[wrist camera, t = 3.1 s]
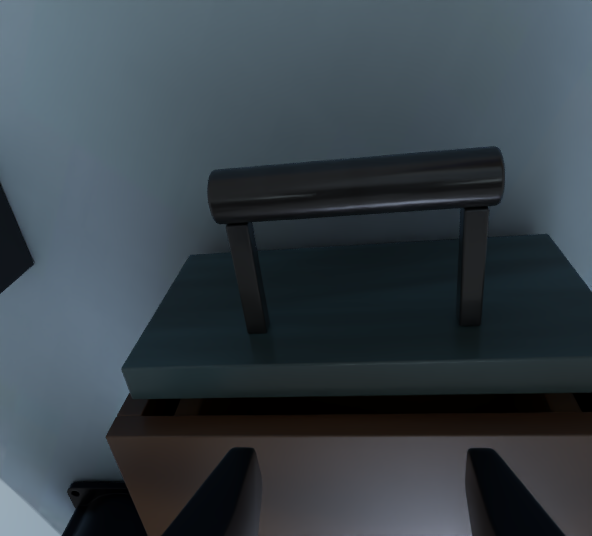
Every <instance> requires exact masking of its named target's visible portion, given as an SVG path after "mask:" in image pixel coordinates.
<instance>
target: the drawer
mask: <svg viewBox="0 0 592 536" xmlns="http://www.w3.org/2000/svg"><path fill="white" fill-rule="evenodd" d="M504 187H505V166H504V160H503V156H502V153H501V150H500V149H499V148H498V147H496V146H489V147H477V148H466V149H454V150H442V151H430V152H418V153H407V154H395V155H383V156H371V157H360V158H348V159H336V160H324V161H312V162H301V163H289V164H277V165H265V166H254V167H242V168H230V169H218V170H214V171H212V172H211V173H210V175H209V179H208V187H207V195H208V203H209V208H210V212H211V215H212V217H213V219H214V221H215V222H216V223H218V224H227V225H226V231H227V236H228V241H229V245H230V250H231V253H214V254H197V255H190V256H189V258H188V259H187V261H186V262H185V264H184V266H183V267H182V269H181V271H180V272H179V274H178V276H177V277H176V279H175V281H174V282H173V284H172V286H171V287H170V289H169V290H168V292H167V294H166V295H165V297H164V299H163V300H162V302H161V304H160V305H159V307H158V309H157V310H156V312H155V314H154V315H153V317H152V319H151V320H150V322H149V323H148V325H147V327H146V328H145V330H144V332H143V333H142V335H141V337H140V338H139V340H138V342H137V343H136V345H135V347H134V348H133V350H132V351H131V353H130V355H129V356H128V358H127V360H126V361H125V363H124V365H123V366H122V373H123V375H124V378H125V381H126V383H127V386H128V389H129V391H130V394H131V397H132V399H181V400H180V402H179V404H178V407H177V409H176V411H175V414H174V416H205V415H316V414H427V413H538V412H582V411H581V409H580V407H579V405H578V403H577V401H576V399H575V397H574V395H573V393H592V292H591V290H590V289H589V288H588V286H587V285H586V284H585V282H584V281H583V280H582V278H581V277H580V276H579V274H578V273H577V272H576V270H575V269H574V268H573V266H572V265H571V264H570V262H569V261H568V260H567V258H566V257H565V256H564V254H563V253H562V252H561V250H560V249H559V248H558V246H557V245H556V244H555V243H554V241H553V240H552V239H551V237H550V236H549V235H548V234H536V235H519V236H502V237H488V224H489V208H488V206H495V205H498V204H499V203H500V202H501V200H502V197H503V193H504ZM453 208H460V228H459V239H451V240H434V241H417V242H400V243H383V244H366V245H349V246H332V247H316V248H299V249H282V250H265V251H257V246H256V241H255V235H254V229H253V224H252V222H262V221H277V220H292V219H306V218H321V217H336V216H350V215H365V214H380V213H395V212H409V211H424V210H439V209H453Z"/></svg>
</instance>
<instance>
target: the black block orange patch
mask: <svg viewBox="0 0 592 536" xmlns="http://www.w3.org/2000/svg"><path fill="white" fill-rule="evenodd" d="M33 264H34V263H33V260H32V258H31V256H30V253H29V251H28V249H27V246H26V244H25V242H24V239H23V237H22V235H21V232H20V230H19V228H18V225H17V223H16V221H15V218H14V216H13V214H12V211H11V209H10V206H9V204H8V202H7V199H6V197H5V195H4V192H3V190H2V188H1V185H0V294H1V293H2V292H3V291H4V290H5V289H6V288H7V287H9V286H10V285H11V284H12V283H13V282H14V281H15V280H17V279H18V278H19V277H20V276H21V275H22V274H23V273H24V272H26V271H27V270H28V269H29V268H30V267H31V266H32V265H33Z"/></svg>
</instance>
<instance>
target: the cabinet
mask: <svg viewBox="0 0 592 536" xmlns="http://www.w3.org/2000/svg"><path fill="white" fill-rule="evenodd" d="M573 395H574V397H575V399H576V401H577V403H578V405H579V407H580V409H581V411H582V412H538V413H427V414H316V415H205V416H174V414H175V411H176V409H177V407H178V404H179V402H180V400H181V399H132V397H131V394H130V393H129V395H128V396H127V398H126V400H125V402H124V404H123V405H122V407H121V409H120V411H119V413H118V415H117V417H116V418H115V420H114V422H113V424H112V425H111V427H110V429H109V431H108V433H107V435H106V439H107V442H108V444H109V446H110V449H111V451H112V453H113V456H114V458H115V460H116V463H117V465H118V467H119V470H120V472H121V474H122V477H123V479H124V481H125V484H126V486H127V488H128V491H129V493H130V495H131V498H132V500H133V502H134V505H135V507H136V509H137V512H138V514H139V516H140V519H141V521H142V523H143V526H144V528H145V530H146V533H147V535H148V536H161V535H162V534H163V533H164V532H165V530H166V529H167V528H168V527H169V525H170V524H171V523H172V522H173V520H174V519H175V518H176V517H177V515H178V514H179V513H180V511H181V510H182V509H183V508H184V506H185V505H186V504H187V503H188V501H189V500H190V499H191V498H192V496H193V495H194V494H195V493H196V491H197V490H198V489H199V488H200V486H201V485H202V484H203V483H204V481H205V480H206V479H207V478H208V476H209V475H210V474H211V473H212V471H213V470H214V469H215V467H216V466H217V465H218V464H219V462H220V461H221V460H222V459H223V457H224V456H225V455H226V454H227V452H228V451H229V450H230V449H232V448H234V447H251V448H254V449H255V451H256V454H257V458H258V463H259V467H260V472H261V476H262V499H261V509H260V519H259V530H258V536H472V531H471V525H470V518H469V512H468V505H467V498H466V491H465V472H466V458H467V451H468V449H470V448H492V449H494V450H495V451H496V452H497V453H498V454H499V455H500V456H501V458H502V459H503V460H504V461H505V462H506V464H507V465H508V466H509V467H510V469H511V470H512V471H513V472H514V473H515V475H516V476H517V477H518V478H519V479H520V481H521V482H522V483H523V484H524V485H525V487H526V488H527V489H528V490H529V492H530V493H531V494H532V495H533V496H534V498H535V499H536V500H537V501H538V502H539V504H540V505H541V506H542V507H543V509H544V510H545V511H546V512H547V513H548V515H549V516H550V517H551V518H552V519H553V521H554V522H555V523H556V524H557V525H558V527H559V528H560V529H561V530H562V532H563V533H564V534H565V535H566V536H592V393H573Z"/></svg>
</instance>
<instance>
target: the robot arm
mask: <svg viewBox="0 0 592 536" xmlns="http://www.w3.org/2000/svg"><path fill="white" fill-rule="evenodd" d="M465 491H466V498H467V505H468V512H469V518H470V525H471V531H472V536H566V535H565V534H564V533H563V532H562V530H561V529H560V528H559V527H558V525H557V524H556V523H555V522H554V521H553V519H552V518H551V517H550V516H549V515H548V513H547V512H546V511H545V510H544V509H543V507H542V506H541V505H540V504H539V502H538V501H537V500H536V499H535V498H534V496H533V495H532V494H531V493H530V492H529V490H528V489H527V488H526V487H525V485H524V484H523V483H522V482H521V481H520V479H519V478H518V477H517V476H516V475H515V473H514V472H513V471H512V470H511V469H510V467H509V466H508V465H507V464H506V462H505V461H504V460H503V459H502V458H501V456H500V455H499V454H498V453H497V452H496V451H495V450H494V449H492V448H470V449H468V451H467V458H466V472H465ZM67 493H68V495H69V497H70V499H71V501H72V503H73V505H74V507H75V509H76V510H75V512H74V514H73V515H72V517H71V519H70V521H69V523H68V525H67V527H66V529H65V530H64V532H63V534H62V536H148V535H147V533H146V530H145V528H144V526H143V523H142V521H141V519H140V516H139V514H138V512H137V509H136V507H135V505H134V502H133V500H132V498H131V495H130V493H129V491H128V488H127V486H126V484H125V483H120V482H73V483H71V485H70V487H69V489H68V491H67ZM261 499H262V476H261V472H260V467H259V463H258V458H257V454H256V451H255V449H254V448H251V447H234V448H232V449H230V450H229V451H228V452H227V454H226V455H225V456H224V457H223V459H222V460H221V461H220V462H219V464H218V465H217V466H216V467H215V469H214V470H213V471H212V473H211V474H210V475H209V476H208V478H207V479H206V480H205V481H204V483H203V484H202V485H201V486H200V488H199V489H198V490H197V491H196V493H195V494H194V495H193V496H192V498H191V499H190V500H189V501H188V503H187V504H186V505H185V506H184V508H183V509H182V510H181V511H180V513H179V514H178V515H177V517H176V518H175V519H174V520H173V522H172V523H171V524H170V525H169V527H168V528H167V529H166V530H165V532H164V533H163V534H162V535H161V536H258V530H259V519H260V509H261Z"/></svg>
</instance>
